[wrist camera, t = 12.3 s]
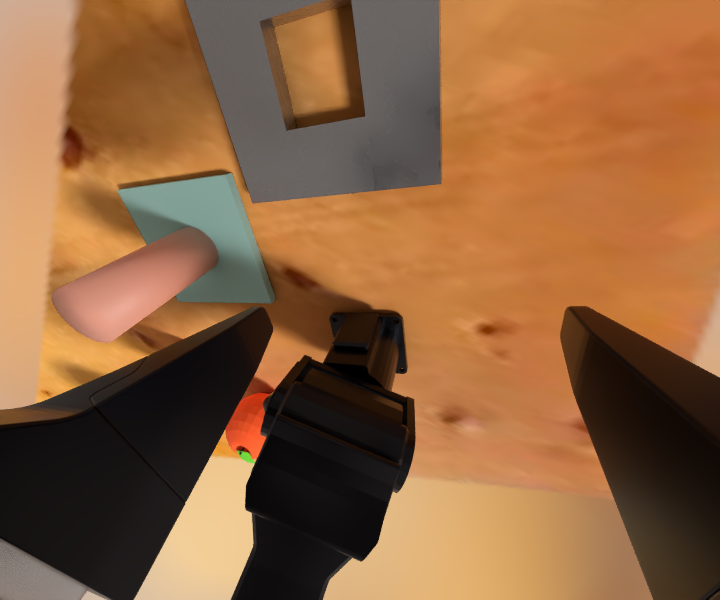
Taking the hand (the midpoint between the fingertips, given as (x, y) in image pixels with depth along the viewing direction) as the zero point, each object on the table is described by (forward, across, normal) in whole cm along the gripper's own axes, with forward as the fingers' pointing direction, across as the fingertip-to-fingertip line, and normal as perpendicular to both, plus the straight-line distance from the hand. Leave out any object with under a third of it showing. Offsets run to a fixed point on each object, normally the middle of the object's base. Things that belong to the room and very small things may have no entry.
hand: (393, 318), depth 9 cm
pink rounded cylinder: (+12, +20, +2) cm, 23 cm away
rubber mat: (+13, +20, +2) cm, 24 cm away
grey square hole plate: (+13, +5, -8) cm, 16 cm away
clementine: (+13, +20, +23) cm, 33 cm away
